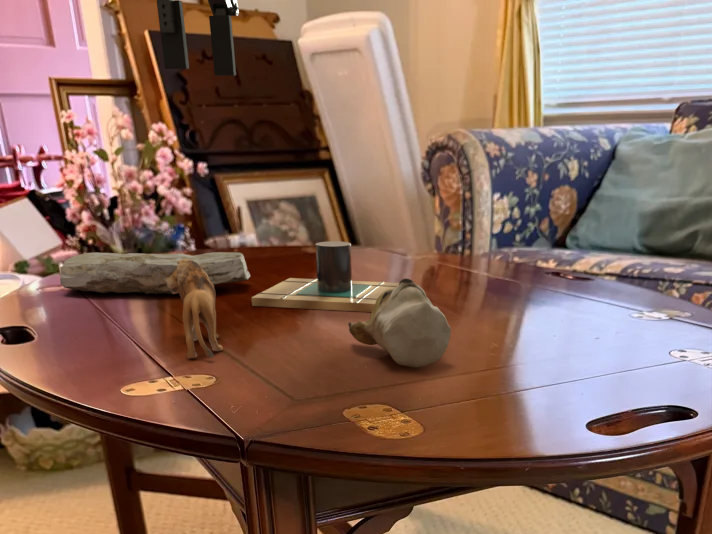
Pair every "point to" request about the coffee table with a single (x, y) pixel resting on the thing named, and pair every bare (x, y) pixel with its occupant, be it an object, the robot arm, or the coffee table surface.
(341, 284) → the black round canister
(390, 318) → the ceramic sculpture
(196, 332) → the lion figurine
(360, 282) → the grid board
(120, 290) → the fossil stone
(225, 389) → the coffee table surface
